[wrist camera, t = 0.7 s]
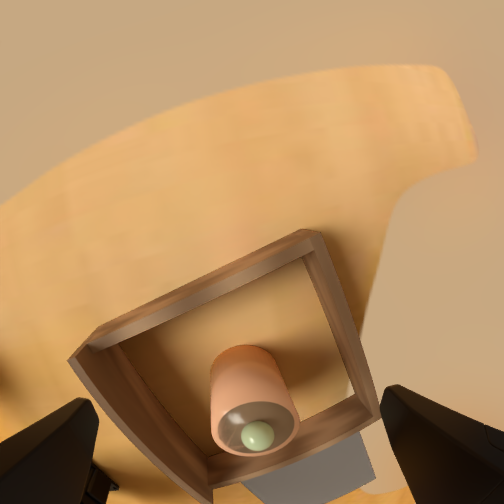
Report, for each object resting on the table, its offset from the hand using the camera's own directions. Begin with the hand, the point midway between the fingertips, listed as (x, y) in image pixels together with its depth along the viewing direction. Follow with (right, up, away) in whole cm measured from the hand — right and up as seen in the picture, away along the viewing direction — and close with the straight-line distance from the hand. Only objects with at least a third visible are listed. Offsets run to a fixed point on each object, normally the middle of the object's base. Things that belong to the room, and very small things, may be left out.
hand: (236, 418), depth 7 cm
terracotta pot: (0, -5, +15) cm, 16 cm away
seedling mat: (+8, -23, +18) cm, 31 cm away
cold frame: (0, -5, +15) cm, 16 cm away
